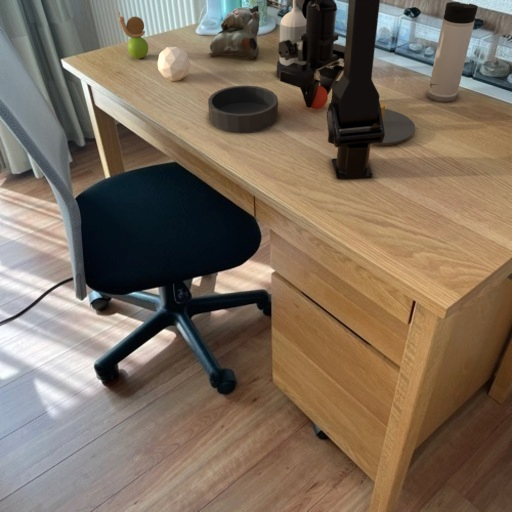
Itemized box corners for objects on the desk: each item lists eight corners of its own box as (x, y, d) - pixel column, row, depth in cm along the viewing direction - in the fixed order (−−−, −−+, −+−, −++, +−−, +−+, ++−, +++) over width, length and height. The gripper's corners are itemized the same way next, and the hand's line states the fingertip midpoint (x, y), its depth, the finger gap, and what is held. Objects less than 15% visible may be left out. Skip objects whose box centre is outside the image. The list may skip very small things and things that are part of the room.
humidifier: (276, 81, 128) (277, -35, 111) (276, 68, 134) (277, -44, 118) (310, 80, 127) (316, -35, 111) (308, 67, 134) (314, -44, 117)
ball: (328, 112, 115) (330, 90, 111) (305, 113, 114) (306, 91, 111) (325, 102, 118) (326, 80, 115) (303, 103, 118) (303, 81, 115)
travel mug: (424, 99, 118) (443, 4, 105) (431, 88, 123) (450, -5, 110) (452, 105, 116) (475, 8, 103) (458, 93, 121) (481, -1, 107)
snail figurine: (123, 56, 142) (114, 9, 134) (146, 52, 144) (139, 5, 136) (128, 63, 138) (119, 15, 130) (152, 59, 140) (145, 11, 132)
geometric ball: (185, 89, 132) (198, 68, 125) (154, 84, 127) (166, 62, 121) (180, 65, 134) (192, 43, 128) (150, 59, 130) (161, 36, 123)
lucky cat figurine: (199, 54, 141) (206, -1, 138) (237, 64, 148) (245, 11, 145) (228, 54, 130) (237, -7, 126) (267, 64, 137) (276, 6, 133)
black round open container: (280, 131, 108) (280, 114, 106) (209, 134, 108) (207, 117, 106) (274, 100, 119) (274, 84, 117) (210, 103, 119) (208, 86, 117)
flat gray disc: (423, 146, 103) (428, 121, 99) (345, 149, 102) (348, 124, 99) (403, 111, 114) (407, 87, 111) (333, 114, 114) (335, 90, 110)
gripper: (316, 10, 115) (312, 80, 125) (259, 33, 105) (260, 107, 115) (359, 20, 109) (352, 93, 119) (303, 45, 99) (300, 122, 109)
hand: (316, 103), depth 116 cm, fingers closed on ball, 5 cm apart
